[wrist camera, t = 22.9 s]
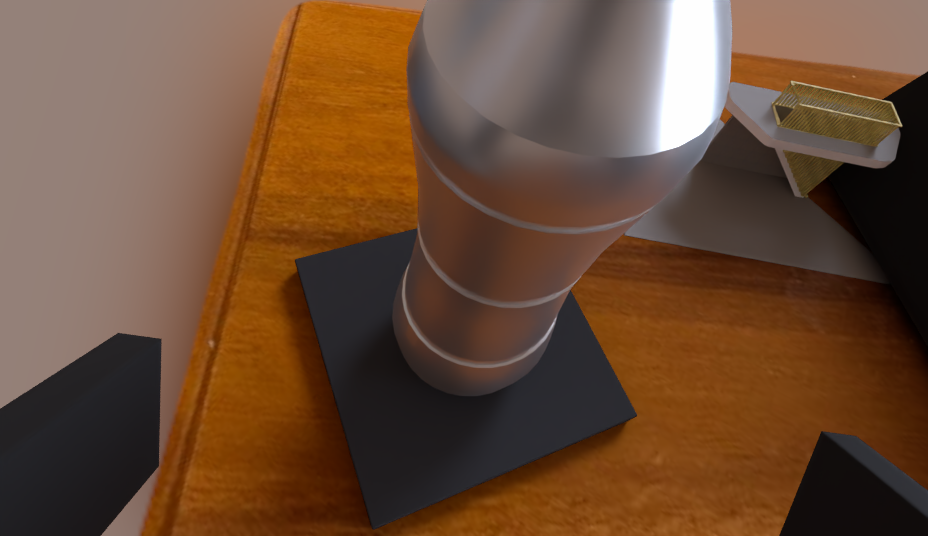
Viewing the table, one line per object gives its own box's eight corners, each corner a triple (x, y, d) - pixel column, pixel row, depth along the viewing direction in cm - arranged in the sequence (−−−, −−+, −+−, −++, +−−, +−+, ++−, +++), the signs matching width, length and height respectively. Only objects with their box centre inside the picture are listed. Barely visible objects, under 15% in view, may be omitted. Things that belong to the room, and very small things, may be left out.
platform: (923, 290, 30) (1050, 228, 24) (624, 235, 29) (685, 156, 23) (866, 139, 36) (958, 60, 30) (617, 87, 35) (664, -4, 29)
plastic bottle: (562, 328, 24) (1027, -247, 7) (475, 444, 21) (924, -75, 4) (455, 247, 25) (619, -408, 8) (358, 345, 22) (290, -379, 5)
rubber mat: (372, 530, 20) (372, 529, 19) (297, 269, 25) (294, 259, 24) (628, 420, 23) (637, 415, 23) (519, 211, 28) (523, 200, 27)
